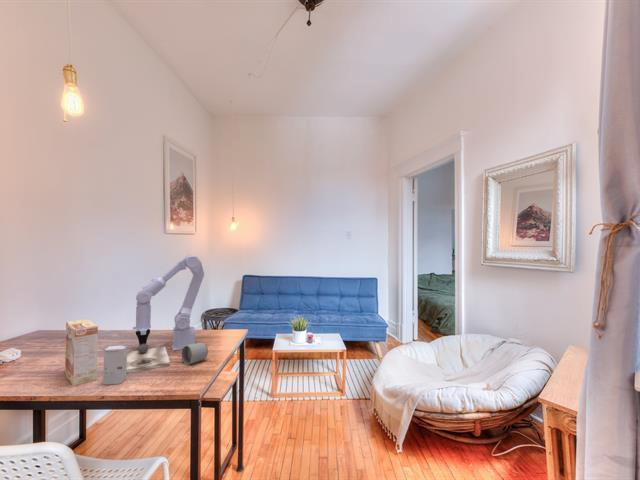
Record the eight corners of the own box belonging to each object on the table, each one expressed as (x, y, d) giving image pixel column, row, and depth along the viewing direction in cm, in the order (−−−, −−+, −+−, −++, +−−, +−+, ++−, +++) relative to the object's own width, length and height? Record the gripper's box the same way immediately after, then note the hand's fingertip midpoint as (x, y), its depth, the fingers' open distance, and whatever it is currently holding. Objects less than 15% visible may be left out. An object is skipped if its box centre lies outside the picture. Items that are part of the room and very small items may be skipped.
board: (165, 349, 140) (165, 346, 140) (169, 365, 121) (169, 362, 121) (118, 356, 130) (118, 353, 130) (115, 375, 112) (115, 371, 112)
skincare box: (101, 385, 104) (102, 349, 104) (107, 379, 108) (108, 345, 108) (122, 383, 105) (122, 348, 105) (127, 378, 109) (128, 344, 110)
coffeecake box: (63, 374, 112) (65, 321, 113) (87, 368, 118) (89, 318, 118) (71, 386, 103) (73, 329, 103) (97, 380, 108) (98, 325, 108)
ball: (148, 350, 134) (148, 341, 134) (148, 353, 130) (148, 344, 130) (137, 352, 132) (137, 343, 132) (137, 355, 128) (137, 345, 128)
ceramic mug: (209, 360, 127) (209, 342, 128) (191, 366, 120) (191, 347, 121) (194, 355, 133) (194, 338, 133) (176, 361, 126) (176, 342, 127)
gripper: (133, 314, 141) (132, 343, 140) (132, 321, 128) (132, 353, 128) (150, 312, 144) (149, 341, 144) (151, 319, 132) (151, 350, 132)
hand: (142, 346), depth 136 cm, fingers closed
